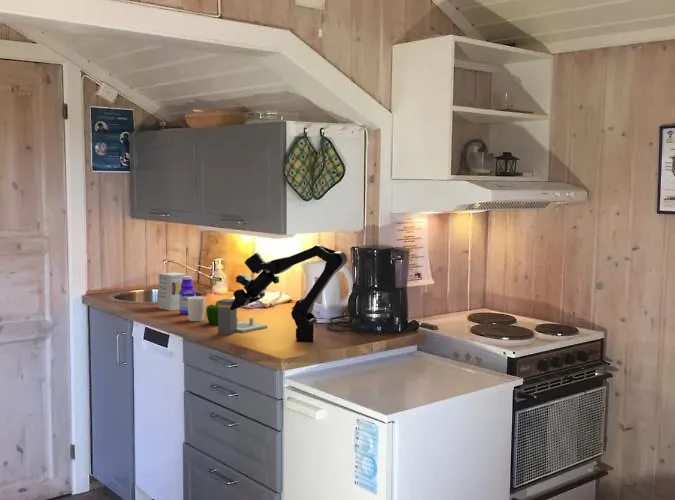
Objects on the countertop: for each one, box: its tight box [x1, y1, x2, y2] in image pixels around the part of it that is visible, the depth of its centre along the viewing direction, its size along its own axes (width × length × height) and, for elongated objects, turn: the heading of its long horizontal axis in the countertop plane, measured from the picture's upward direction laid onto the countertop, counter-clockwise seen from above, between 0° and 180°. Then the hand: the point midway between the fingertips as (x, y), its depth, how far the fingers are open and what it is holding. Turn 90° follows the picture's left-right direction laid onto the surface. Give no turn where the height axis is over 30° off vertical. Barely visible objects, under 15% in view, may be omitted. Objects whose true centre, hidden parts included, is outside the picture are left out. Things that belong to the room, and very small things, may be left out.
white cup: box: [187, 295, 206, 322], centre depth 326 cm, size 8×8×10 cm
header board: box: [236, 317, 268, 334], centre depth 311 cm, size 14×14×4 cm
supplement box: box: [158, 271, 187, 312], centre depth 353 cm, size 10×9×17 cm
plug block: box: [217, 298, 238, 336], centre depth 300 cm, size 6×6×14 cm
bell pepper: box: [206, 300, 219, 325], centre depth 319 cm, size 8×8×10 cm
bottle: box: [178, 275, 196, 315], centre depth 339 cm, size 7×6×17 cm
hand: (236, 307), depth 299 cm, fingers open, 9 cm apart
